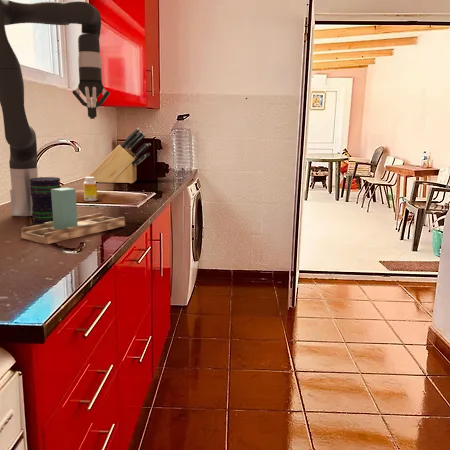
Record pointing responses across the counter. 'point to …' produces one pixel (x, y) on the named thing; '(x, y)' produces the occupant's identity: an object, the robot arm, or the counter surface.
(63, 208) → the teal block
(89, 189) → the supplement bottle
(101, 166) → the knife block
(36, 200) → the navy cylinder
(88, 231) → the box
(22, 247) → the counter surface
